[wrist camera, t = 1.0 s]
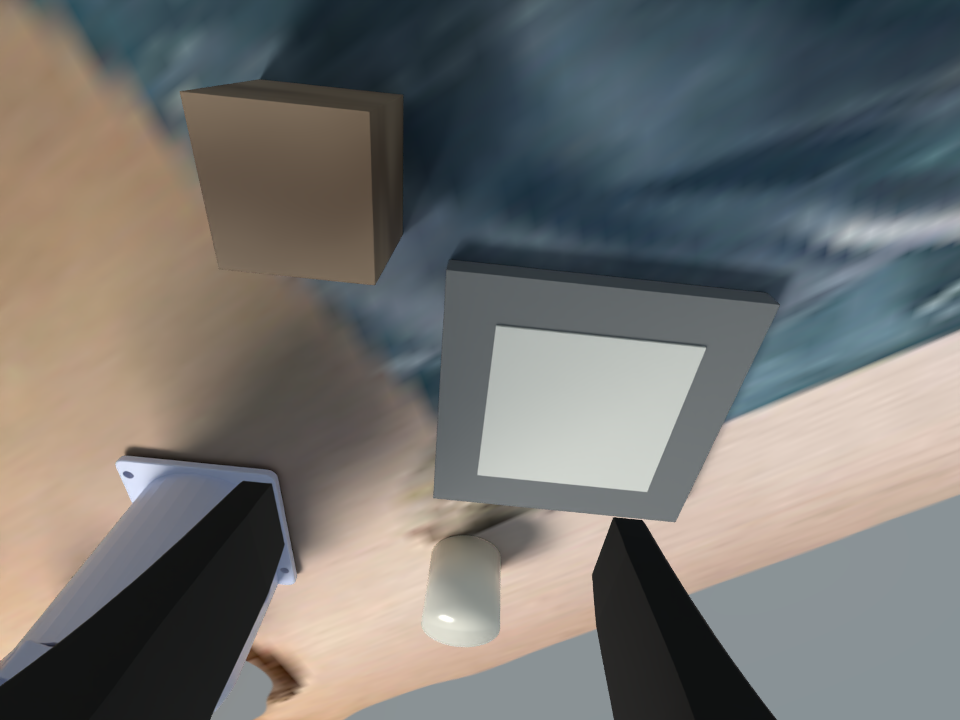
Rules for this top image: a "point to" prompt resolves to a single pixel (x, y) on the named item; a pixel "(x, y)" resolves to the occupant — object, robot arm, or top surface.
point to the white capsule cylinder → (463, 592)
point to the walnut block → (299, 177)
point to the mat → (586, 387)
